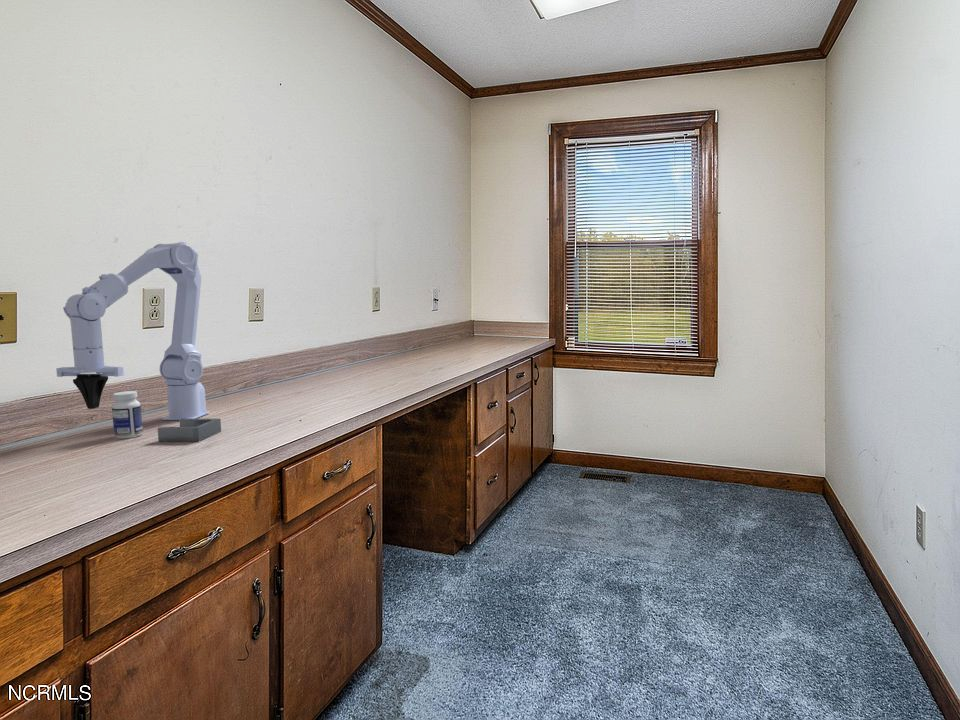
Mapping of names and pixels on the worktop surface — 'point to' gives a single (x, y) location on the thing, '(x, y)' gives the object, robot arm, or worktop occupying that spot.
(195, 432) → the metal u-channel bracket
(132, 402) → the pill bottle
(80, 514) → the worktop surface
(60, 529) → the worktop surface
